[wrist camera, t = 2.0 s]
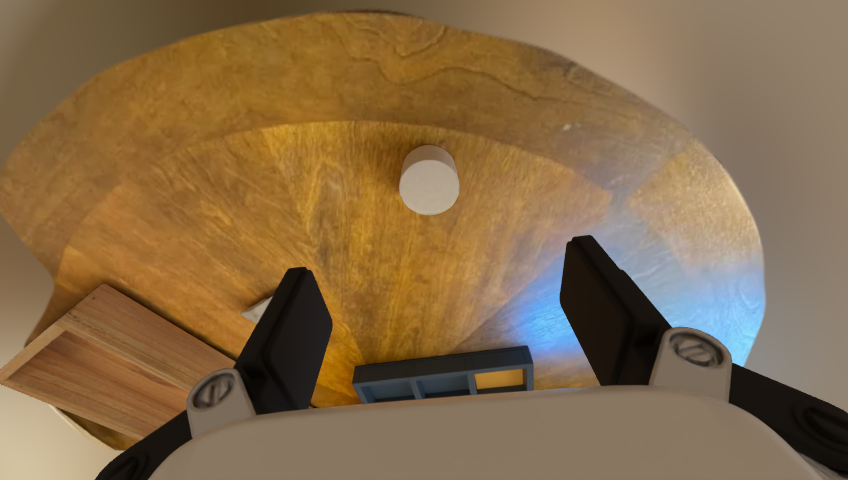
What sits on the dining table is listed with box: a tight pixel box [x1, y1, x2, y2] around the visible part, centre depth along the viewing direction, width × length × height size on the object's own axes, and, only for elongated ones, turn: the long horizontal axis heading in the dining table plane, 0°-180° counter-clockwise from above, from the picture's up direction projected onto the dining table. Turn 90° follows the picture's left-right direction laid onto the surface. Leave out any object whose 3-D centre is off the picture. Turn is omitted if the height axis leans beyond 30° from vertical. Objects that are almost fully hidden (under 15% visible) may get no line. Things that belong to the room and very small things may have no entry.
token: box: [399, 145, 459, 215], centre depth 25 cm, size 4×4×3 cm
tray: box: [0, 283, 314, 440], centre depth 39 cm, size 31×15×6 cm, turn 35°
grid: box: [352, 346, 534, 404], centre depth 44 cm, size 21×21×2 cm
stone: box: [240, 296, 273, 323], centre depth 34 cm, size 6×2×6 cm
